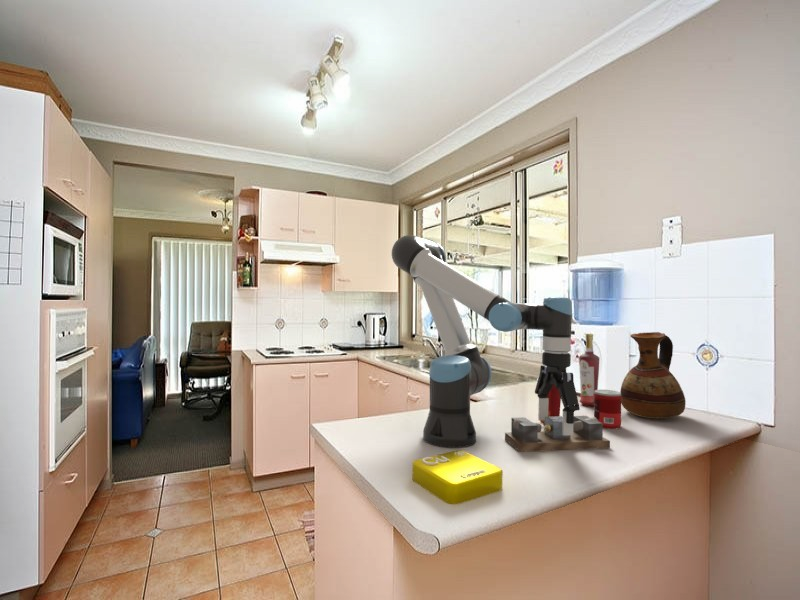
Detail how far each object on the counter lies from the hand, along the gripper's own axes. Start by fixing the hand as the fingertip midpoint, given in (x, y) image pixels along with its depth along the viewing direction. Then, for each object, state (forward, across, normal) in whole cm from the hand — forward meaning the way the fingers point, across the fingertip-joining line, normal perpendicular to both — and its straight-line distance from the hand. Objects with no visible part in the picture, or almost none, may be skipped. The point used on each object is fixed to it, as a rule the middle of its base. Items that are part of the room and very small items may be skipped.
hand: (554, 427), depth 116 cm
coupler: (+2, 0, -1) cm, 3 cm away
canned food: (+5, +15, -26) cm, 31 cm away
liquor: (+5, +41, -36) cm, 55 cm away
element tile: (+5, -22, +35) cm, 41 cm away
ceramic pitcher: (+4, +25, -50) cm, 56 cm away
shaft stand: (+4, 0, 0) cm, 5 cm away
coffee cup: (+5, +21, -9) cm, 23 cm away
